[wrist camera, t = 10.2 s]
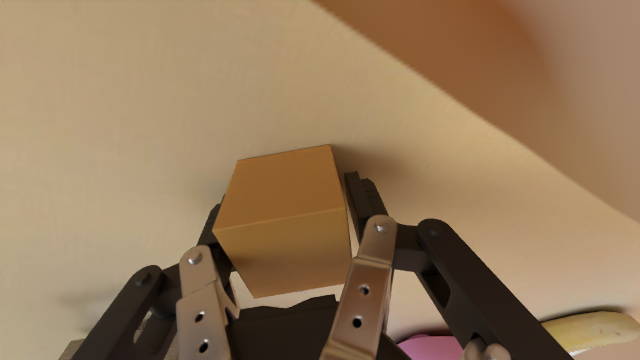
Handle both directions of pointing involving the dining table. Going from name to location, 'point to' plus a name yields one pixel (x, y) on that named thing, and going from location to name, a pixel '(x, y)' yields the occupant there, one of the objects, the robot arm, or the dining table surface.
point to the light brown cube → (286, 222)
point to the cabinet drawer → (171, 356)
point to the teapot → (431, 347)
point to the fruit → (593, 330)
